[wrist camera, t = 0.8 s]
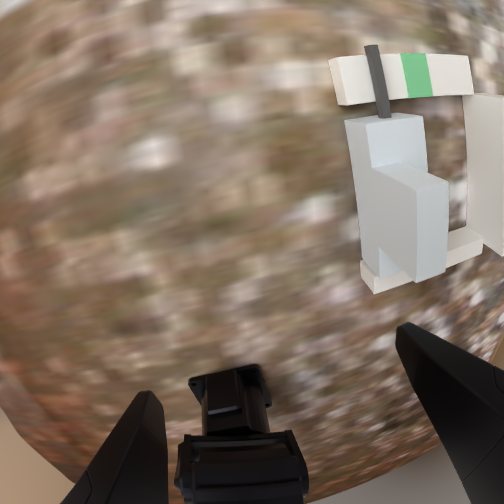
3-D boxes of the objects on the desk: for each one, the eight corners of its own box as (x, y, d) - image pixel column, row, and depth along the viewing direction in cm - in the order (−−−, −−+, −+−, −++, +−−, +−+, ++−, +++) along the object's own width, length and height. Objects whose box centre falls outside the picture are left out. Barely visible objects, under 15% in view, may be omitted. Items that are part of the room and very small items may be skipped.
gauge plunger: (407, 243, 22) (465, 296, 16) (362, 258, 22) (413, 319, 16) (384, 48, 16) (459, 34, 9) (329, 51, 16) (392, 29, 9)
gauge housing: (485, 233, 24) (520, 257, 19) (361, 276, 24) (389, 314, 19) (478, 58, 16) (523, 59, 12) (328, 60, 17) (362, 49, 12)
